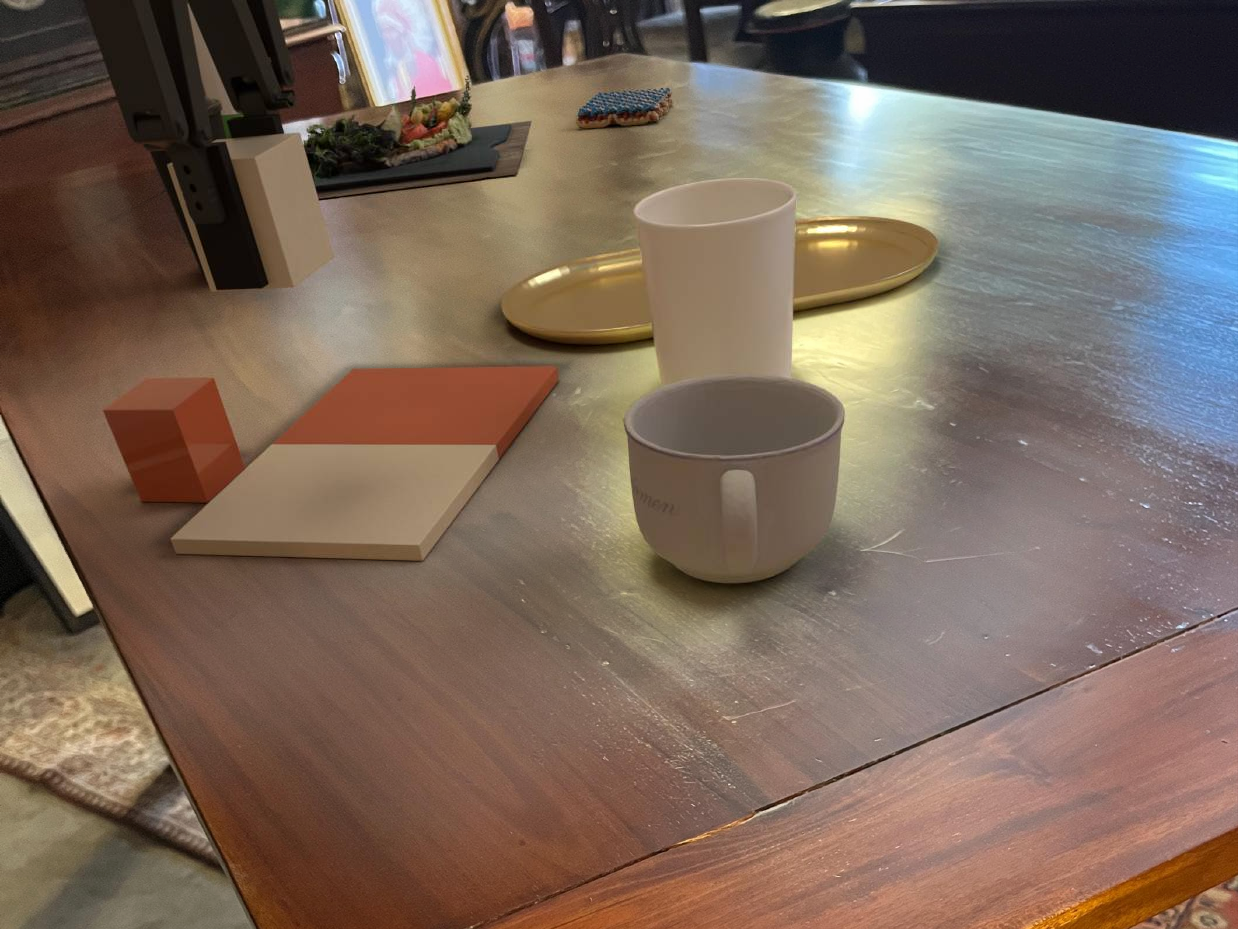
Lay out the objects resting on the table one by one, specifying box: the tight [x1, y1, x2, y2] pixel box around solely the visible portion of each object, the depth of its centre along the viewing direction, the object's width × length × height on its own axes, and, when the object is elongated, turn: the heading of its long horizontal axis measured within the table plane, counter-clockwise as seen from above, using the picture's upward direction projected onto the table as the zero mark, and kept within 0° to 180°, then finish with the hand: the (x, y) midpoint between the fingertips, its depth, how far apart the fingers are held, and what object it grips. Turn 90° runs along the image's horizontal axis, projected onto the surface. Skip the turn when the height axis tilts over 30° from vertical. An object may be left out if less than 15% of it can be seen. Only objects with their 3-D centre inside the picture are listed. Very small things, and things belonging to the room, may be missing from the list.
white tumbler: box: [632, 177, 798, 387], centre depth 76 cm, size 10×10×12 cm
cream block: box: [167, 131, 335, 293], centre depth 63 cm, size 5×5×6 cm
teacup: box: [622, 374, 846, 584], centre depth 61 cm, size 14×11×8 cm
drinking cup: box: [146, 95, 227, 284], centre depth 107 cm, size 8×8×20 cm
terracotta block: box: [102, 377, 246, 504], centre depth 77 cm, size 5×5×6 cm
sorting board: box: [169, 365, 560, 562], centre depth 78 cm, size 16×26×1 cm, turn 166°
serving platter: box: [500, 215, 939, 346], centre depth 96 cm, size 19×35×2 cm, turn 103°
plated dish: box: [302, 74, 532, 200], centre depth 140 cm, size 35×28×7 cm
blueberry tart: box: [574, 87, 674, 129], centre depth 146 cm, size 10×11×2 cm
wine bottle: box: [187, 1, 243, 139], centre depth 151 cm, size 8×8×30 cm
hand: (267, 268), depth 65 cm, fingers closed on cream block, 5 cm apart
